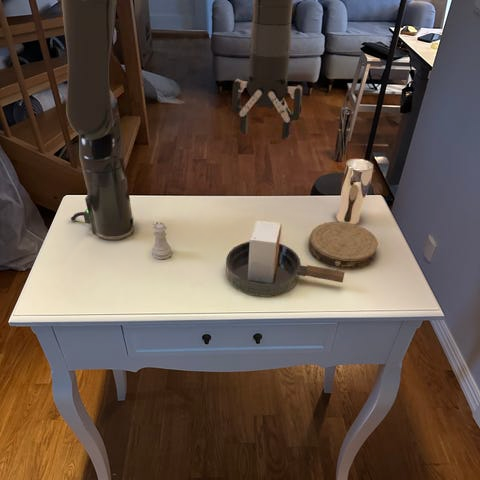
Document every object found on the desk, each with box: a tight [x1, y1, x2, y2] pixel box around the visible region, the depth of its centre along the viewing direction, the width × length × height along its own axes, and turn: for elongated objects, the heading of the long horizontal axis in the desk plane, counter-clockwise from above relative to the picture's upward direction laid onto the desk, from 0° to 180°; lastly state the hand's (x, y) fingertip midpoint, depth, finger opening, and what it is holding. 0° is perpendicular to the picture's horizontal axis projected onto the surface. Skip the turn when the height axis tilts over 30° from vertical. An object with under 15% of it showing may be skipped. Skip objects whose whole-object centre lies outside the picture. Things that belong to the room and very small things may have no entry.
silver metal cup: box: [335, 158, 374, 225], centre depth 114 cm, size 7×7×15 cm
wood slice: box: [308, 221, 379, 271], centre depth 107 cm, size 16×16×3 cm
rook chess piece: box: [151, 221, 173, 260], centre depth 102 cm, size 4×4×8 cm
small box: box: [248, 219, 282, 283], centre depth 97 cm, size 8×6×10 cm
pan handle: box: [298, 264, 346, 283], centre depth 96 cm, size 10×2×2 cm, turn 74°
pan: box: [225, 240, 302, 297], centre depth 99 cm, size 16×16×4 cm
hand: (264, 136), depth 96 cm, fingers open, 8 cm apart
